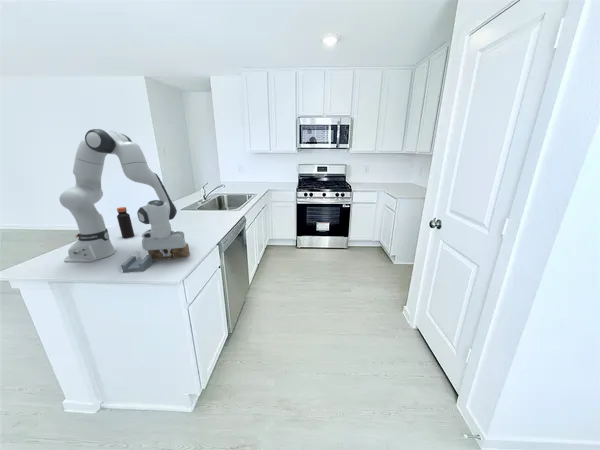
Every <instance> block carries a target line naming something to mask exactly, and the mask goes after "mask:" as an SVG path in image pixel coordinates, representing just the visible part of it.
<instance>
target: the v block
mask: <svg viewBox="0 0 600 450" xmlns="http://www.w3.org/2000/svg"><path fill="white" fill-rule="evenodd" d="M151 264H153V260H152V256H151V255H149V254H146V255H145V256H144V257H143V258H136V255H131V256H130V257H128V258H127V259H126V260H125V261H124V262H123V263H122V264H121V270H122V273H123V274H124V273H133V272H145V271H146V270H147V269H148V268H149V266H151Z"/></svg>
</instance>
